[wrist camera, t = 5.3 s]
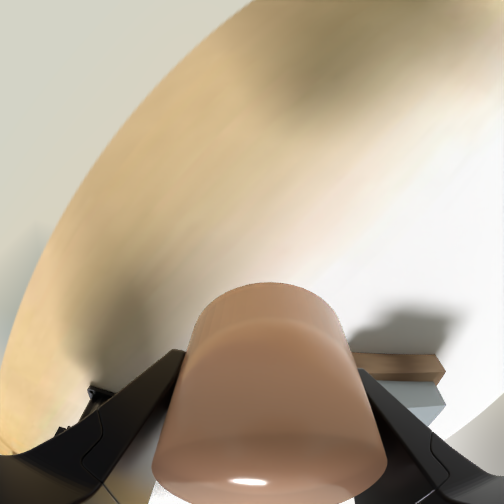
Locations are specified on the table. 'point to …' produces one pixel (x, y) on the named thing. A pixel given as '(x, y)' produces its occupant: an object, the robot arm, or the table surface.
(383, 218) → the table surface
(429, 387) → the grey top slab
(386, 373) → the walnut base slab
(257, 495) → the peach domed cylinder
